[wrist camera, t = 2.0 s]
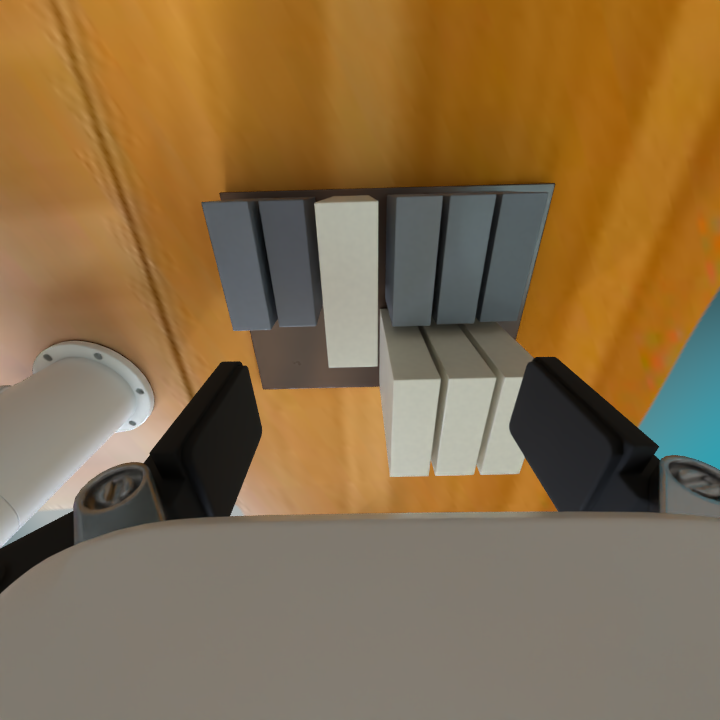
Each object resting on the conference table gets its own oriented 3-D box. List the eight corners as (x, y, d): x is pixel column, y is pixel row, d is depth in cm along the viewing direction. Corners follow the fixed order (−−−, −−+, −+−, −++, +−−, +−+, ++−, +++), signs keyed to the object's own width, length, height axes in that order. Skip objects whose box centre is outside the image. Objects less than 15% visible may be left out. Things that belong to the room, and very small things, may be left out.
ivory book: (339, 299, 30) (328, 368, 19) (333, 196, 25) (314, 202, 14) (369, 299, 30) (377, 366, 19) (368, 195, 25) (378, 200, 14)
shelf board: (266, 382, 36) (262, 389, 35) (225, 192, 26) (218, 192, 25) (499, 376, 36) (504, 383, 35) (546, 183, 26) (556, 182, 25)
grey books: (258, 302, 30) (233, 331, 24) (238, 198, 25) (200, 202, 19) (486, 295, 30) (520, 323, 24) (506, 191, 25) (553, 192, 19)
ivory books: (379, 383, 35) (389, 477, 23) (379, 308, 30) (393, 380, 19) (466, 381, 35) (519, 474, 23) (479, 305, 30) (553, 376, 19)
